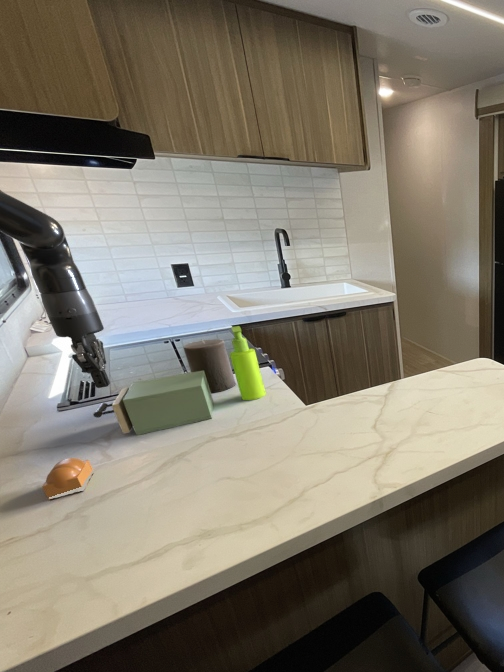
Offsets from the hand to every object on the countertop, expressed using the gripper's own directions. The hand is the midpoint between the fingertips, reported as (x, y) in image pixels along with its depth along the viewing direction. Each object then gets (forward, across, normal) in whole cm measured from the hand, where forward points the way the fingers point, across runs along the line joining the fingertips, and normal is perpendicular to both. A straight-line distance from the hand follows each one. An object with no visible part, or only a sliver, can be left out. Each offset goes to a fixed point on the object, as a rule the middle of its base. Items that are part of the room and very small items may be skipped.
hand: (103, 386), depth 92 cm
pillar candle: (+11, -18, +19) cm, 29 cm away
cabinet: (+11, 0, +11) cm, 16 cm away
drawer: (+10, 0, +6) cm, 12 cm away
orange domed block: (+11, +25, -3) cm, 27 cm away
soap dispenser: (+11, -3, +28) cm, 30 cm away
